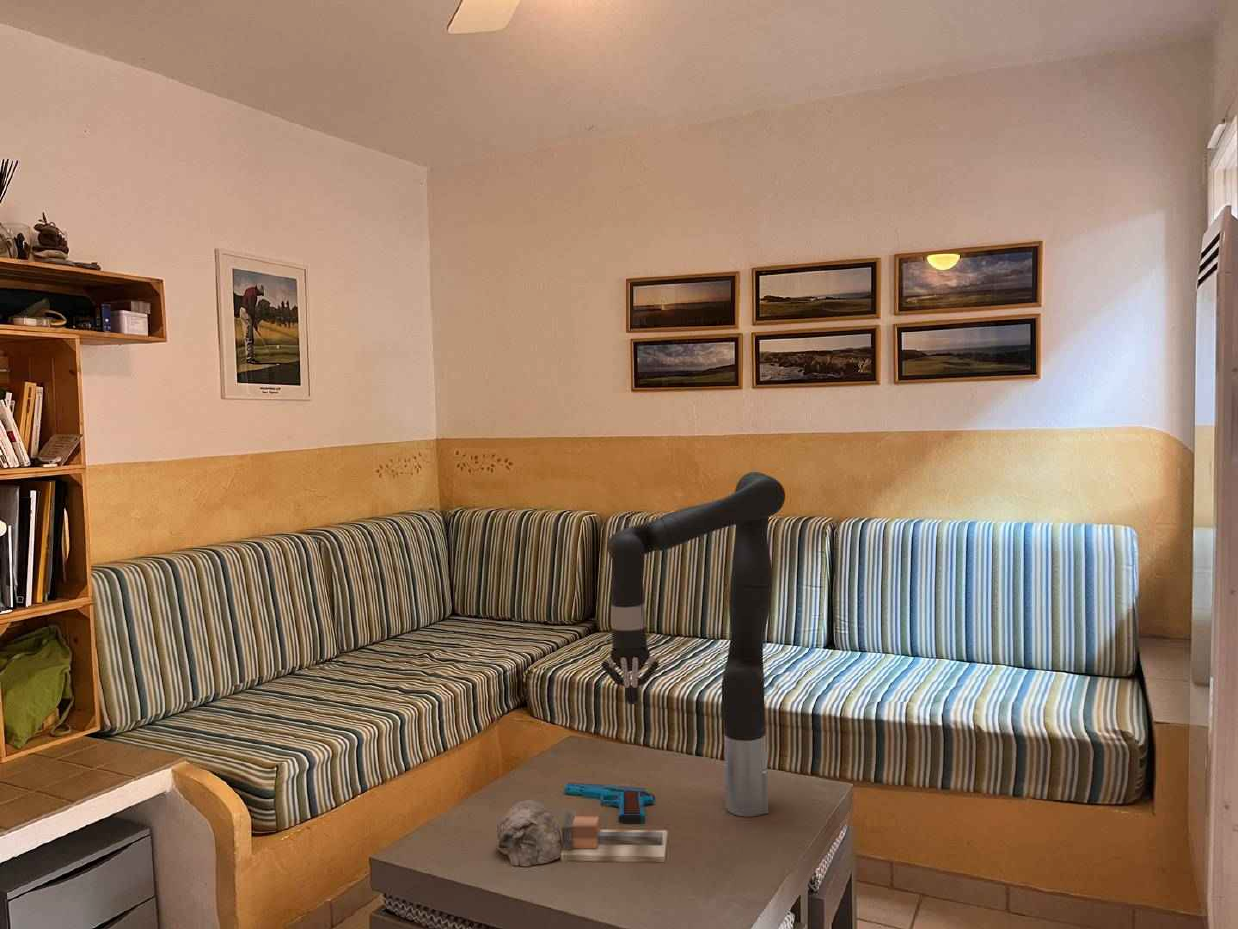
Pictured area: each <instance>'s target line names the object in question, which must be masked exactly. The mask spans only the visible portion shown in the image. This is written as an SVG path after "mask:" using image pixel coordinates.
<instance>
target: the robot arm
mask: <svg viewBox="0 0 1238 929" xmlns="http://www.w3.org/2000/svg"><path fill="white" fill-rule="evenodd" d="M785 501H786V492H785V489H784V487H783V485H782V483H781V482H780V481H779V480H777V479H776V478H774V477H772V476H770V475H768V474H765V473H762V472H759V471H751V472H748V473H746V474H744V475H743V476H741V477H740V479H739V480H738V481H737V483H736V485H735V489H734V493H731V494H729V495H727V496H725V497H722V498H720V499H717V500H714V501H710V502H706V503H702V504H695V505H693V506H692V505H691V506H688V507H685V508H681V509H678V510H676V511H672V512H671V513H668V514H664V515H663V516H660V517H658V518H655V519H654V520H653V519H652V520H651V521H648V522H645V523H639V524H636V525H632V526H629V527H626V528H623V529H621V530H618V531H616V532H615V533H614V534H612V536H610V537H609V539H608V541H607V542H608V543H607V552H608V554H609V556H610V558H611V561H612V563H611V564H612V577H613V578H612V581H611V582H610V583H611V585H610V592H611V593H610V594H611V599H610V600H611V612H610V625H611V627H610V628H611V646H612V647H611V648H612V649H611V652H610V654H609V657H607V658H606V659H603V661H602V662H601V667H602V669H603V670H604V671H605V672H606V673H607V675H608V676H609V677H610V678H611V679H612V681H613V682H614V683H615V685H617V686H622V687H624V699H625V701H626V702H627V703H628V705H636V703H638V701H639V698H640V694H639V692H640V691H639V689H640V688H639V687H640V686H644V685H645V684H647V682H648V680H649V679H650V678H651V677H652V675H653V674H654V673H655V671H656V670H657V669H658V667H659V666H660V660H659V658H654V657H653V656H652V655H651V653H650V652H651V651H650V650H649V648H648V635H647V634H648V633H647V631H648V630H647V629H648V628H647V613H646V612H647V611H646V608H645V607H646V606H645V591H644V573H645V557H646V556H645V555H647V554H650V553H652V552H657V551H659V552H663V551H668V550H670V549H672V548H675V547H678V546H680V545H683V544H685V543H687V542H690V541H692V540H695V539H698V538H700V537H702V536H705V535H707V534H710V533H713V532H716V531H719V530H721V529H725V528H728V527H731V526H735V527H734V528H735V530H734V531H735V532H734V534H735V535H734V542H733V551H732V561H731V571H730V572H731V573H730V579H729V580H730V581H729V594H728V613H729V616H728V617H729V625H730V640H729V648H728V653H727V657H726V658H727V659H726V662H725V666H724V667H725V668H724V670H723V674H722V680H721V710H722V711H721V712H722V724H723V740H724V741H723V742H724V743H723V744H724V746H723V747H724V771H725V772H724V774H725V779H724V780H725V802H726V803H725V804H726V806H725V807H726V810H727V812H729V813H730V814H733V815H734V816H735V815H736V816H739V817H747V818H749V817H757V816H760V815H761V816H762V815H764V814H765V815H768V814H769V789H768V786H769V785H768V768H767V741H766V739H767V738H766V736H767V735H766V733H767V732H766V731H767V730H766V726H767V724H766V710H765V708H766V707H765V705H766V703H765V672H764V638H765V631H766V628H767V624H768V619H769V616H770V614H769V613H770V610H771V609H770V608H771V603H772V594H773V565H772V560H771V555H770V549H769V540H768V527H769V519H770V517H771V516H774V515H775V514H777V513H778V512H779V511H781V509H782V508H783V506H784V503H785ZM647 661H648V663H647ZM646 663H647V667H648V668H647V669H646V671H645V672H644V673H643V674H642V676H641V677H639V676H640V675H639V674H640V670H642V669H643V667H644V666H645V664H646ZM614 664H615V665H616V666H617V668H618V669H619V670H620V671H621V674H622V676H621V674H620V673H619V671H618V670H617V669H616V668H615V667H614Z"/></svg>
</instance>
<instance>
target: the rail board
mask: <svg viewBox="0 0 1238 929" xmlns="http://www.w3.org/2000/svg"><path fill="white" fill-rule="evenodd" d="M576 813H578V812H577V811H567V813H566V815H565V818H564V820H563V823H562V825H561V835H562V836H561V840H562V843H563V848H562V853H561V857H560V861H563V862H565V861H569V862H571V861H573V862H575V861H576V862H620V863H621V862H624V863H627V862H629V863H630V862H631V863H632V862H633V863H665V860H666V854H667V853H666V852H667V844H668V838H669V836H668V833H669V832H668V830H663V829H662V830H659V829H657V830H655V829H653V830H651V829H650V830H649V829H646V830H645V829H601V832H598V847H597V848H573V839H572V824H573V822H574V819H575V816H576Z"/></svg>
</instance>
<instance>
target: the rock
mask: <svg viewBox="0 0 1238 929" xmlns="http://www.w3.org/2000/svg"><path fill="white" fill-rule="evenodd" d="M496 827H497V830H496V832H497V839H498V844H497V850H499V852H502V854H504V855H507V856H508V859H509V861H510V865H512V866H521V867H529V866H530V867H531V866H533V865H541V864H548V863H551V862H552V861H554V860H557V859H559V858H561V853H562V850H563V842H562V836H561V831H560V827H559V825H558V823H557V822H556V820H555V818H554V814H553V812H552V811H551V810H549V809H548V808H547V807H546V806H545V805H543V804H542V803H539V802H537V801H536V800H530V799H528V800H527V799H526V800H522V801H521V800H520V802H518V803H516V804H515V805H513V806H512V807H510V808H509V809H508V811H507V812H506V813H505V815H503V816H502V817H501V820H500V821H499V822H498V824H497V826H496Z"/></svg>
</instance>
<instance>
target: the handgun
mask: <svg viewBox="0 0 1238 929" xmlns="http://www.w3.org/2000/svg"><path fill="white" fill-rule="evenodd" d="M563 793H564V795H572V796H573V795H575V796H581V798H585V799H586V798H588V799H594V800H595V799H597V800H600V803H601V804H602V805H606V806H613V807H617V808H618V822H620V823H621V824H644V823H645V822H646V814H645V806H646V805H650V804H654V803H655V800H656V796H655V795H654V794H653V793H652V792H650V793H649V792H648V791H647V787H637V786H625V785H624V786H623V785H613V784H611V785H610V784H598V783H597V784H596V783H587V782H586V783H585V782H573V781H571V782H570V781H568V782H566V783H565V786H564V788H563Z"/></svg>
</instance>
